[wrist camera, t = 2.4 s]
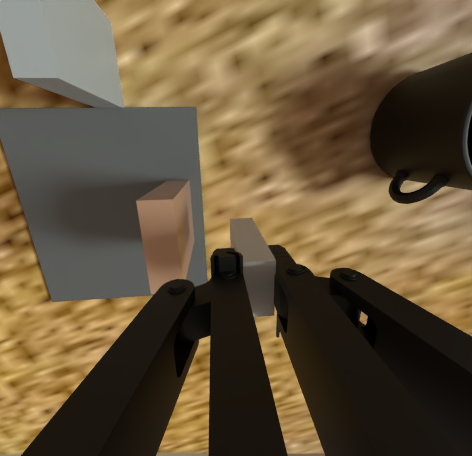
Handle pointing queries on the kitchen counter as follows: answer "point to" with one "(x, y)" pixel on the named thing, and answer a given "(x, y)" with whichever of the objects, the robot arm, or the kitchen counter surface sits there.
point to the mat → (99, 191)
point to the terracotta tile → (166, 231)
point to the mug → (427, 130)
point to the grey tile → (63, 49)
